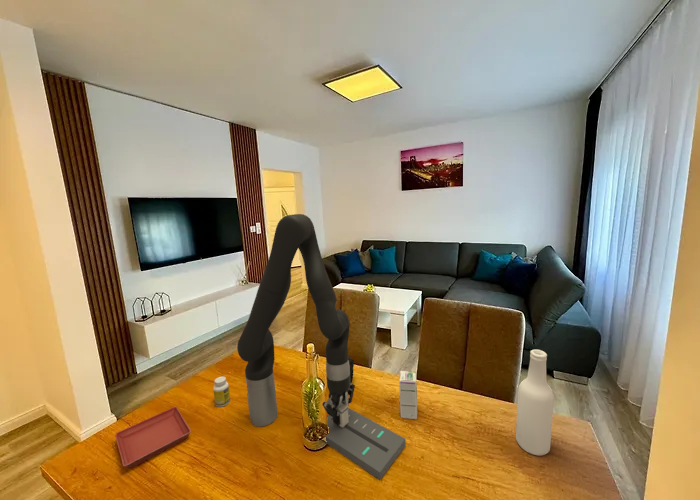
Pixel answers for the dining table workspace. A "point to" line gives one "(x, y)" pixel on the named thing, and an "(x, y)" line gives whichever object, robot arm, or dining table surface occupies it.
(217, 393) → the supplement bottle
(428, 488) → the dining table surface
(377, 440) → the console
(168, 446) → the plant saucer
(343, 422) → the fader tab
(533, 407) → the alcohol
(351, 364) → the controller
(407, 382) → the syrup box
